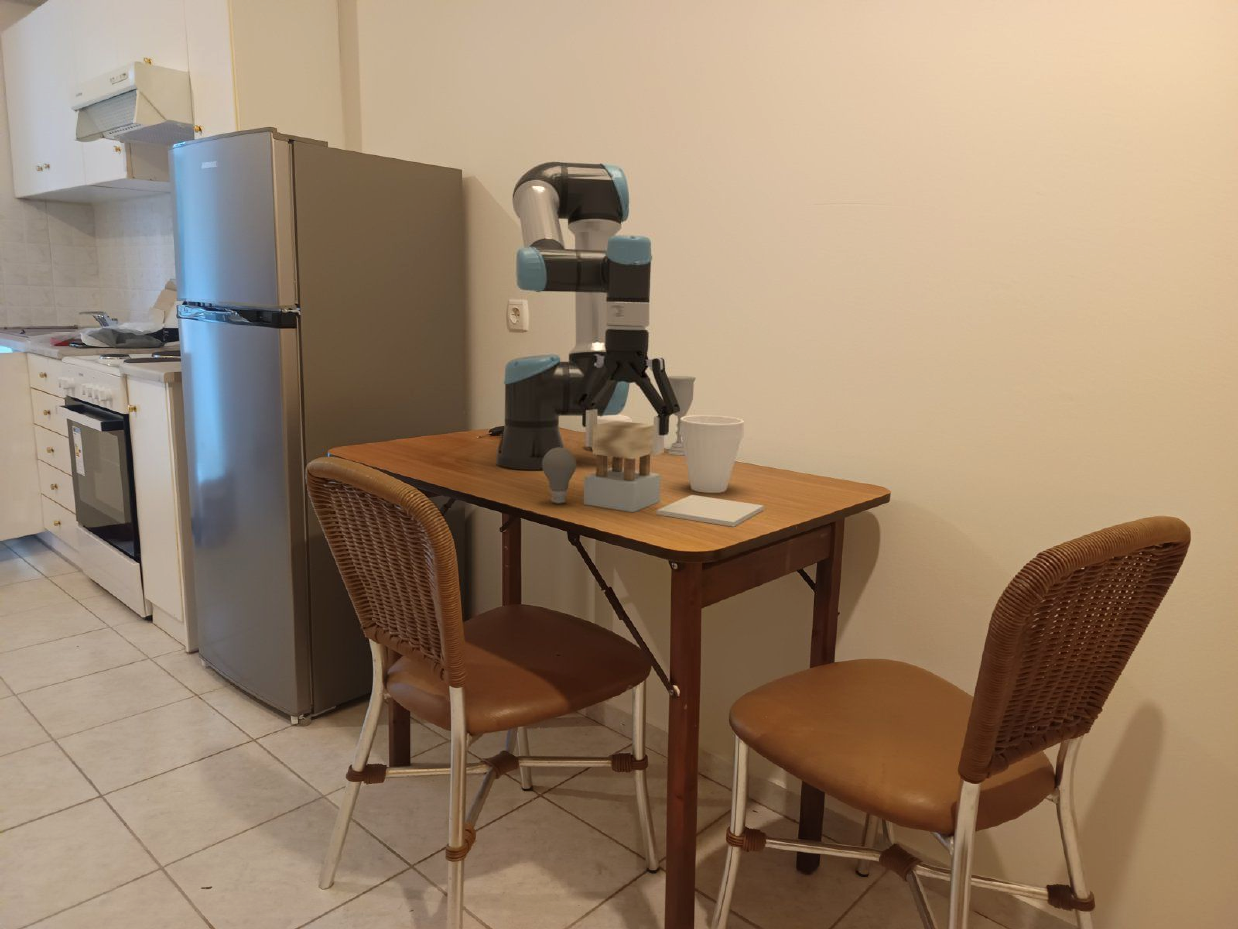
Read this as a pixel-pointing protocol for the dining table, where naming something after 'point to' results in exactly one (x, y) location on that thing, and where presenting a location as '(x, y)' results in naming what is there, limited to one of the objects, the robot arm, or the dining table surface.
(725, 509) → the mat
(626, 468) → the stool
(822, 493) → the dining table surface
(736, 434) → the cup
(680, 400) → the chalice
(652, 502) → the gray square block
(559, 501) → the light bulb
